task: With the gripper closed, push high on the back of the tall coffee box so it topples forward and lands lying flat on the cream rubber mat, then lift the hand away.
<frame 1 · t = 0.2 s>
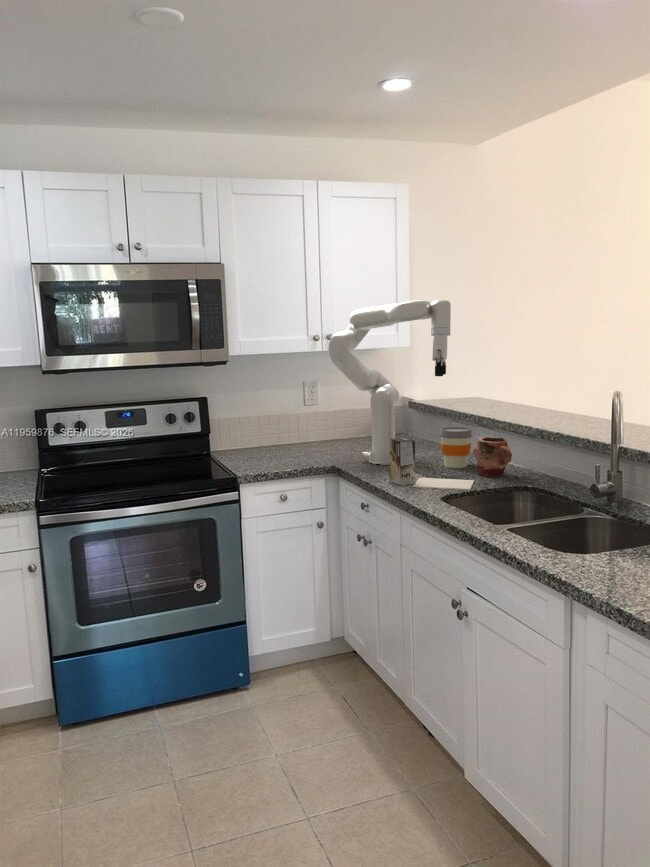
hand: (440, 375, 284), 37 cm above the countertop, tool pointing down, fingers open, 9 cm apart
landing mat: (443, 484, 256), on the countertop
coffee box: (402, 483, 260), on the countertop
reusable coffee cup: (455, 466, 288), on the countertop
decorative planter: (493, 476, 269), on the countertop
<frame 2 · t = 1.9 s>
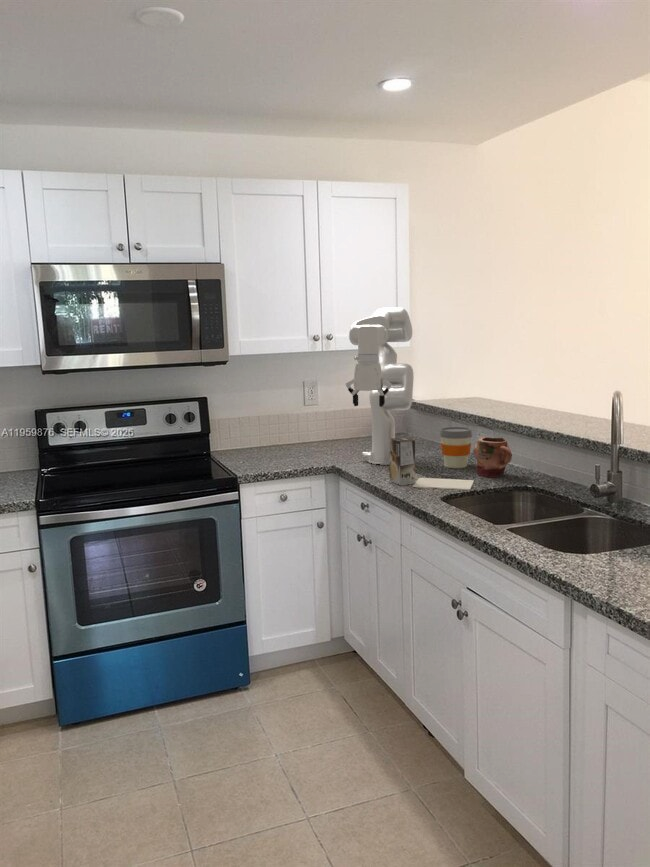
hand: (368, 406, 262), 28 cm above the countertop, tool pointing down, fingers open, 9 cm apart
nothing on the countertop moved.
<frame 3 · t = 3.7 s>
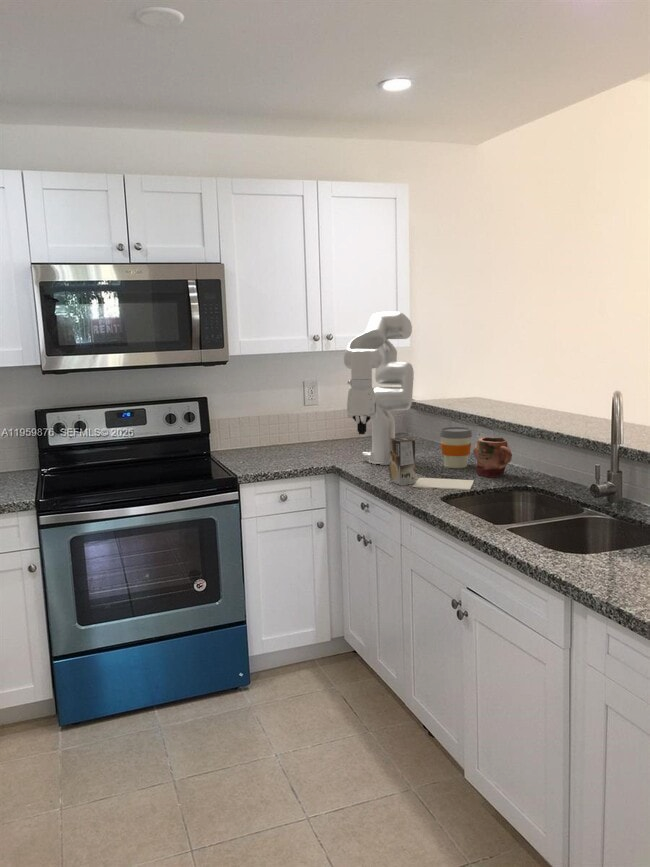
hand: (361, 433, 261), 18 cm above the countertop, tool pointing down, fingers closed
nothing on the countertop moved.
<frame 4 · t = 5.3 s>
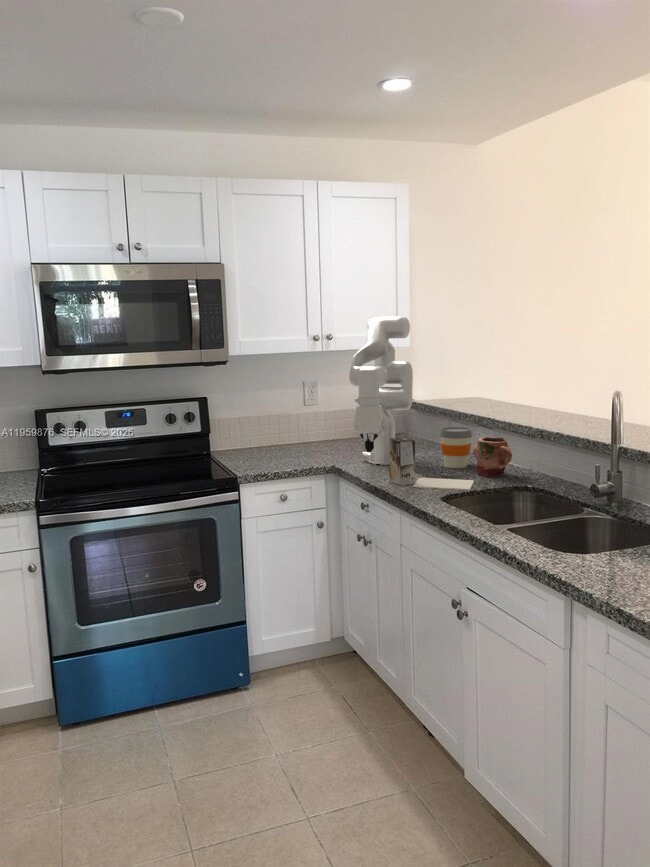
hand: (369, 451, 262), 11 cm above the countertop, tool pointing down, fingers closed
nothing on the countertop moved.
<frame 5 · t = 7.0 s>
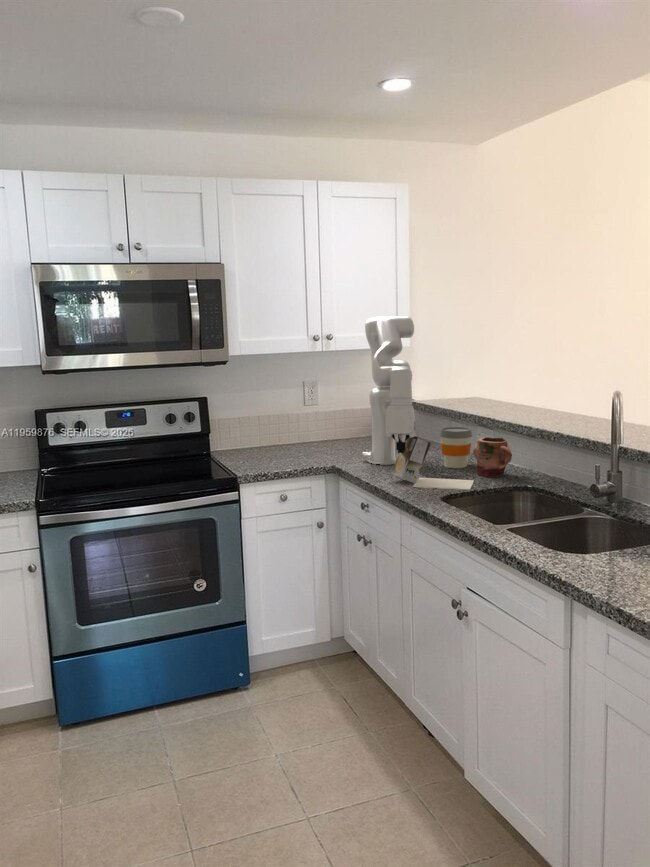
hand: (400, 452, 258), 11 cm above the countertop, tool pointing down, fingers closed
coffee box: (402, 479, 260), point 1 cm above the countertop
everything else where it was.
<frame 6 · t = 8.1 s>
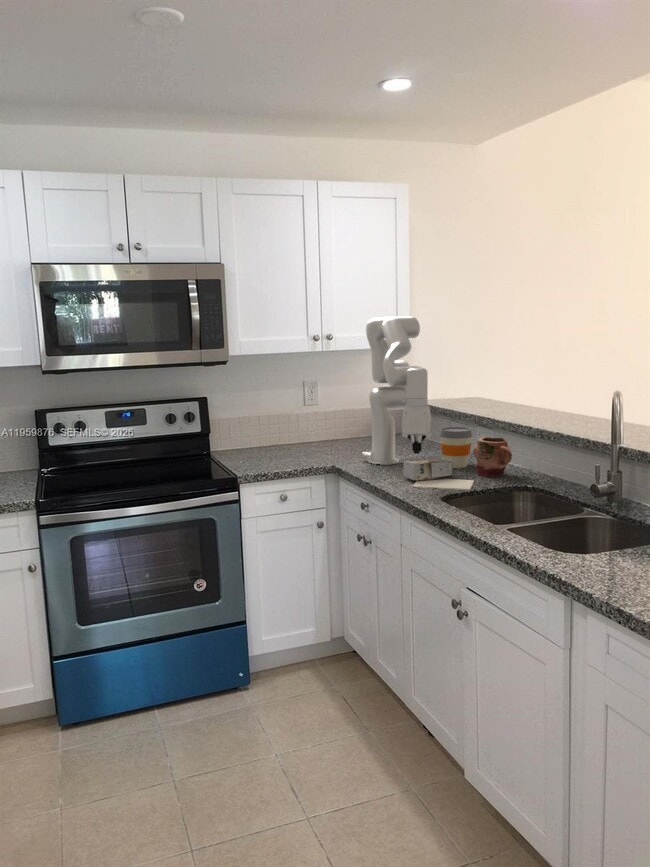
hand: (416, 453, 257), 11 cm above the countertop, tool pointing down, fingers closed
coffee box: (407, 470, 261), point 4 cm above the countertop, touching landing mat
everything else where it was.
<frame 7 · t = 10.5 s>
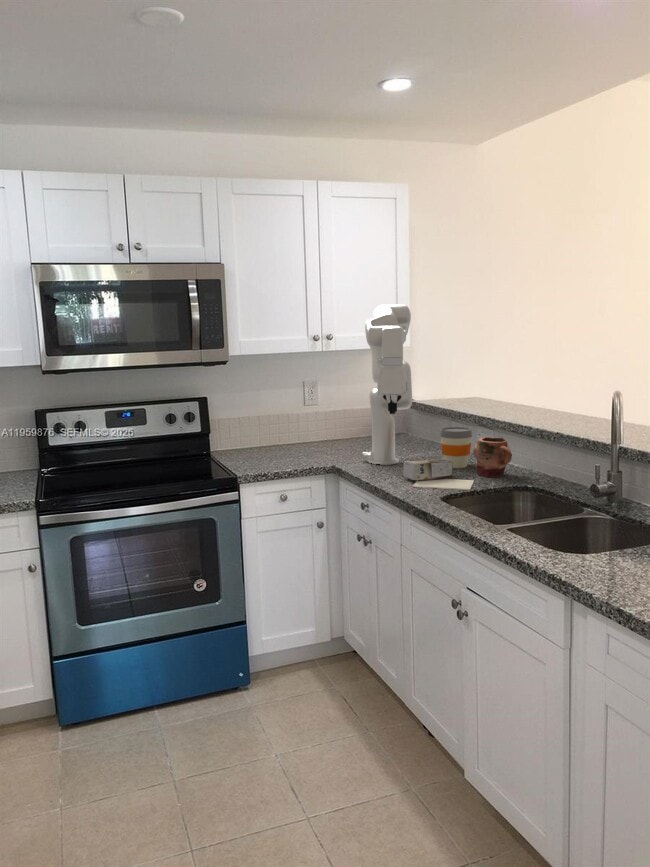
hand: (392, 413, 255), 26 cm above the countertop, tool pointing down, fingers closed
nothing on the countertop moved.
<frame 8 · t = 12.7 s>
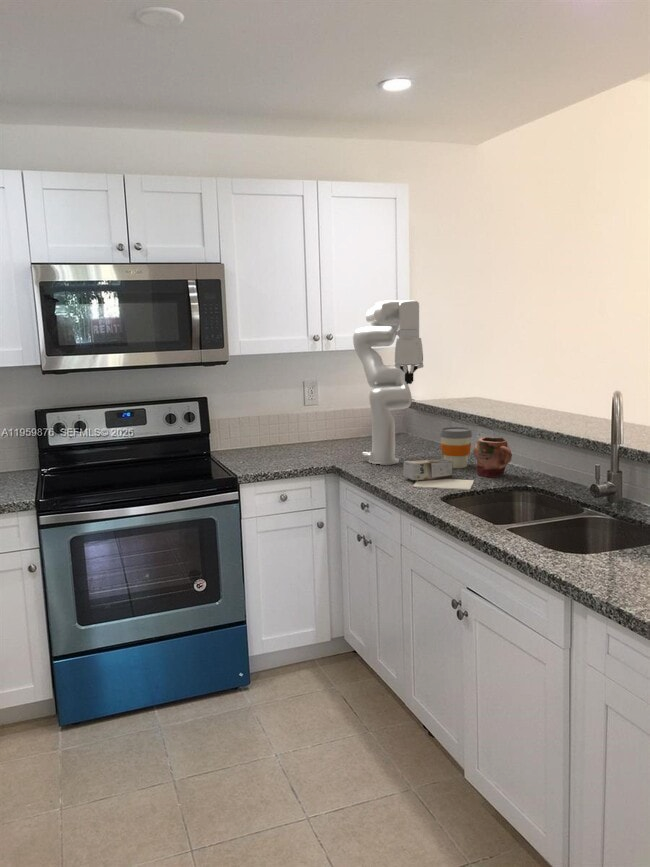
hand: (409, 383, 267), 35 cm above the countertop, tool pointing down, fingers closed
coffee box: (407, 470, 261), point 4 cm above the countertop, touching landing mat
everything else where it was.
at the end: coffee box tilted 92°; coffee box inside the target area (4.4 cm from its centre), point 4.1 cm above the countertop; coffee box touching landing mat, countertop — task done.
